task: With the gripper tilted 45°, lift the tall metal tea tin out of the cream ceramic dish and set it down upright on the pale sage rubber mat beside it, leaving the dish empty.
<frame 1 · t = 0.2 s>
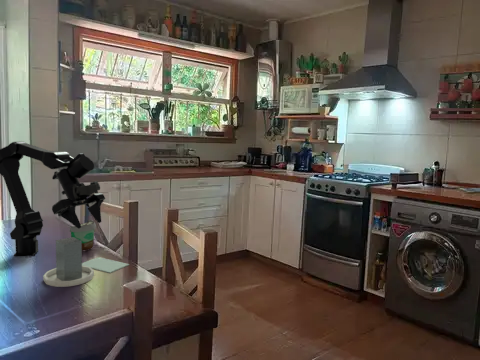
hand: (90, 225, 132), 15 cm above the table, tool tilted 35°, fingers open, 9 cm apart
food container: (86, 248, 153), on the table
tea tin: (69, 277, 122), resting on ceramic dish
rubber mat: (104, 266, 134), on the table
ceramic dish: (69, 279, 122), on the table
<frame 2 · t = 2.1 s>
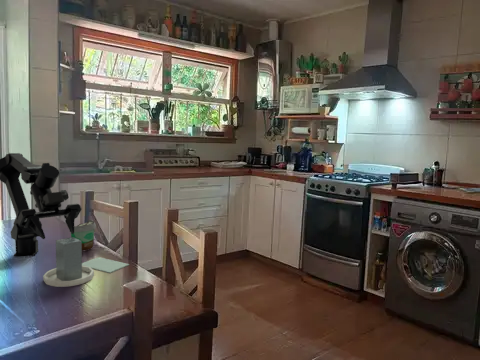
hand: (59, 235, 125), 13 cm above the table, tool tilted 45°, fingers open, 9 cm apart
nothing on the table moved.
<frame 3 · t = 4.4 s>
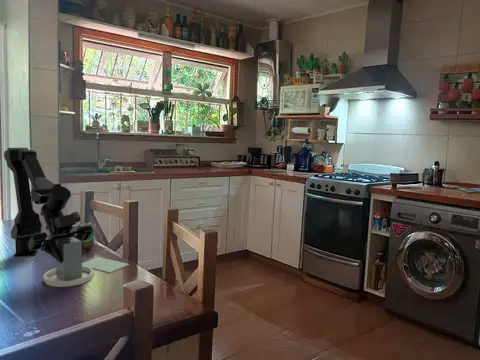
hand: (71, 260, 120), 7 cm above the table, tool tilted 45°, fingers closed on tea tin, 5 cm apart
tea tin: (69, 277, 122), resting on ceramic dish, touching gripper
everything else where it was.
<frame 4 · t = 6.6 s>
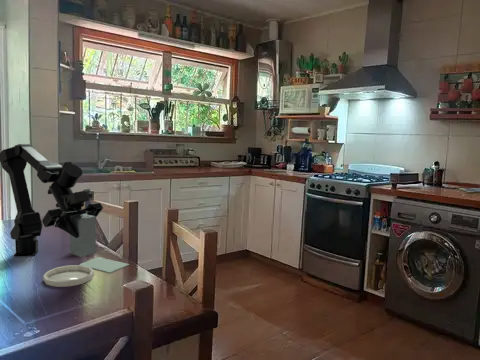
hand: (85, 235, 123), 13 cm above the table, tool tilted 45°, fingers closed on tea tin, 5 cm apart
tea tin: (83, 252, 125), point 7 cm above the table, touching gripper
everything else where it was.
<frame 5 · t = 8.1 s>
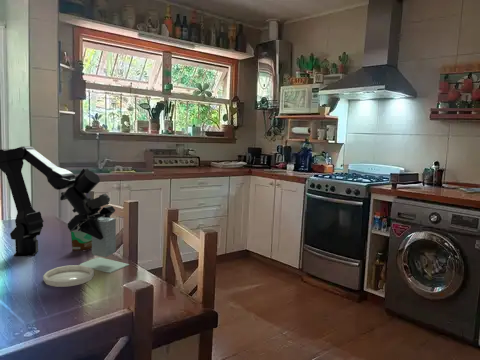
hand: (107, 236, 132), 11 cm above the table, tool tilted 45°, fingers closed on tea tin, 5 cm apart
tea tin: (103, 253, 134), point 5 cm above the table, touching gripper
everything else where it was.
when the fingers open (8 cm above the table, at t = 9.0 s): tea tin drops 1 cm, resting on rubber mat.
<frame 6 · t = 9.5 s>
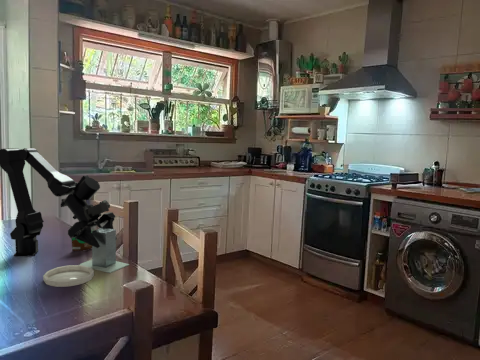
hand: (107, 243, 133), 8 cm above the table, tool tilted 45°, fingers open, 9 cm apart
tea tin: (104, 264, 134), point 1 cm above the table, touching rubber mat
everything else where it was.
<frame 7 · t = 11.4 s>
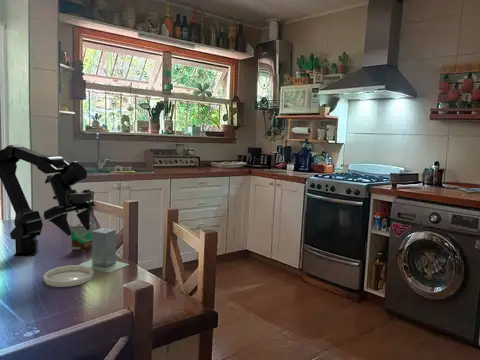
hand: (79, 232, 133), 12 cm above the table, tool tilted 25°, fingers open, 9 cm apart
nothing on the table moved.
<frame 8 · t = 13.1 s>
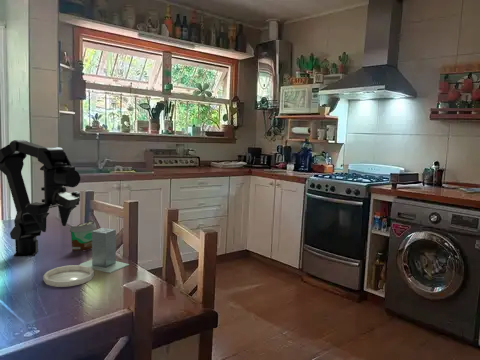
hand: (54, 228, 135), 12 cm above the table, tool pointing down, fingers open, 9 cm apart
nothing on the table moved.
at the end: tea tin inside the target area on the rubber mat (0.0 cm from its centre), point 0.8 cm above the rubber mat's base; tea tin tilted 0°; the gripper is holding nothing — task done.
